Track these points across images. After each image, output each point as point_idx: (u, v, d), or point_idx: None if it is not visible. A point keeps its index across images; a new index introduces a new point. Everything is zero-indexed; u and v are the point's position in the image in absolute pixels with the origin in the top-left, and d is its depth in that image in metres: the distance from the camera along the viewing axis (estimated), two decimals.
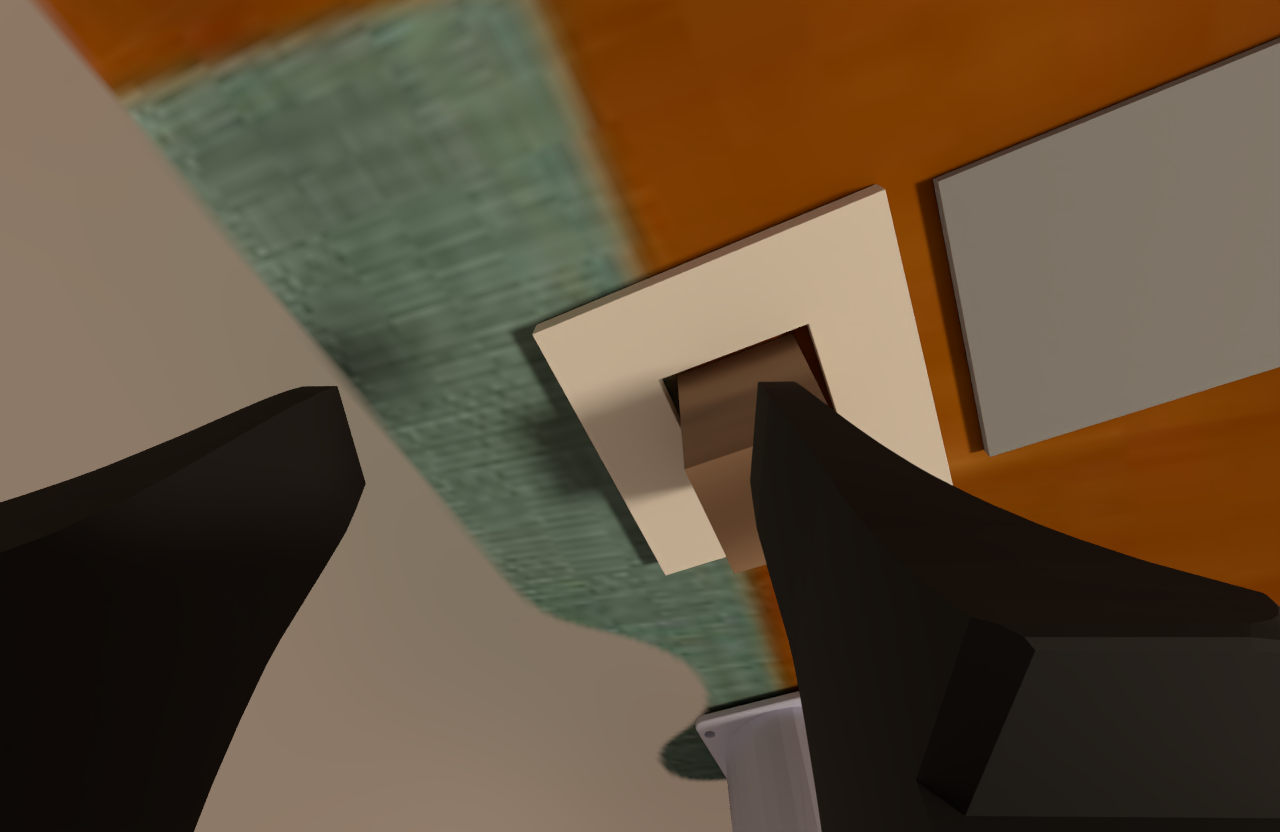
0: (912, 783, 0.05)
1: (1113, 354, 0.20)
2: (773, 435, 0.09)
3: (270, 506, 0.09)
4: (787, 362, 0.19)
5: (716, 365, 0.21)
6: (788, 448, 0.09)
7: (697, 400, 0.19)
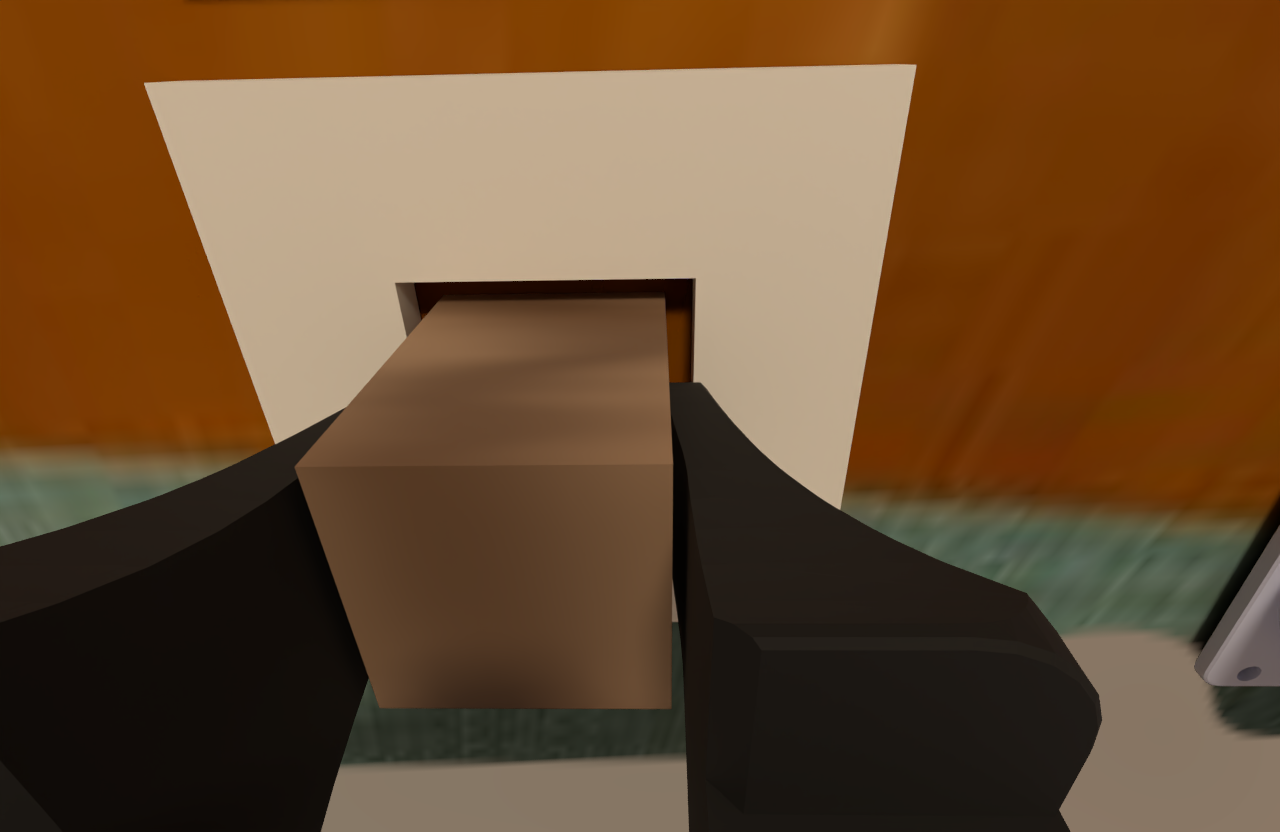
0: (705, 782, 0.05)
1: None
2: None
3: None
4: None
5: None
6: (674, 449, 0.09)
7: None
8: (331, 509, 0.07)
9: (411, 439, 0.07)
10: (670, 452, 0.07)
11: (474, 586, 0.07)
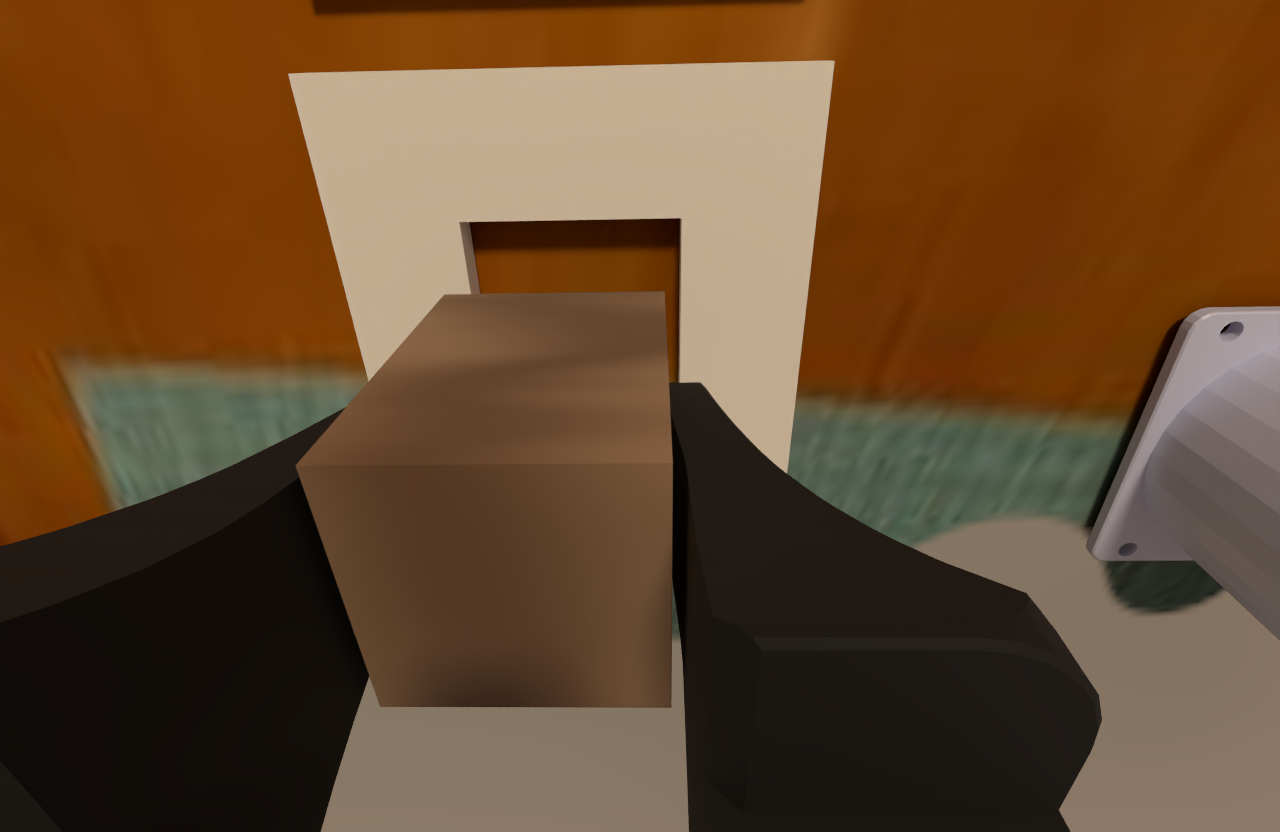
0: (705, 782, 0.05)
1: None
2: None
3: None
4: None
5: None
6: (674, 449, 0.09)
7: None
8: (332, 508, 0.07)
9: (413, 438, 0.07)
10: (670, 451, 0.07)
11: (475, 585, 0.08)
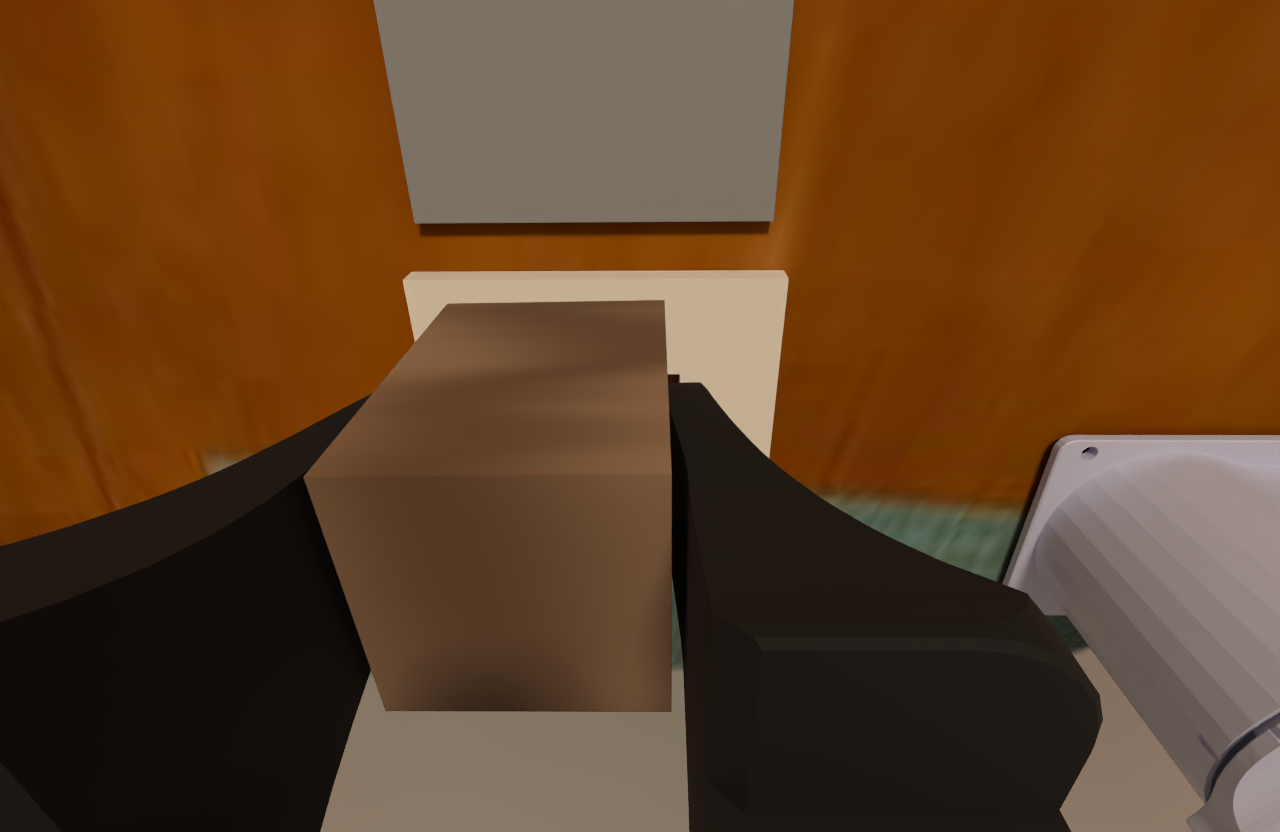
0: (706, 782, 0.05)
1: (686, 48, 0.15)
2: None
3: None
4: None
5: None
6: (674, 449, 0.09)
7: None
8: (338, 518, 0.07)
9: (416, 449, 0.07)
10: (669, 462, 0.07)
11: (477, 593, 0.08)
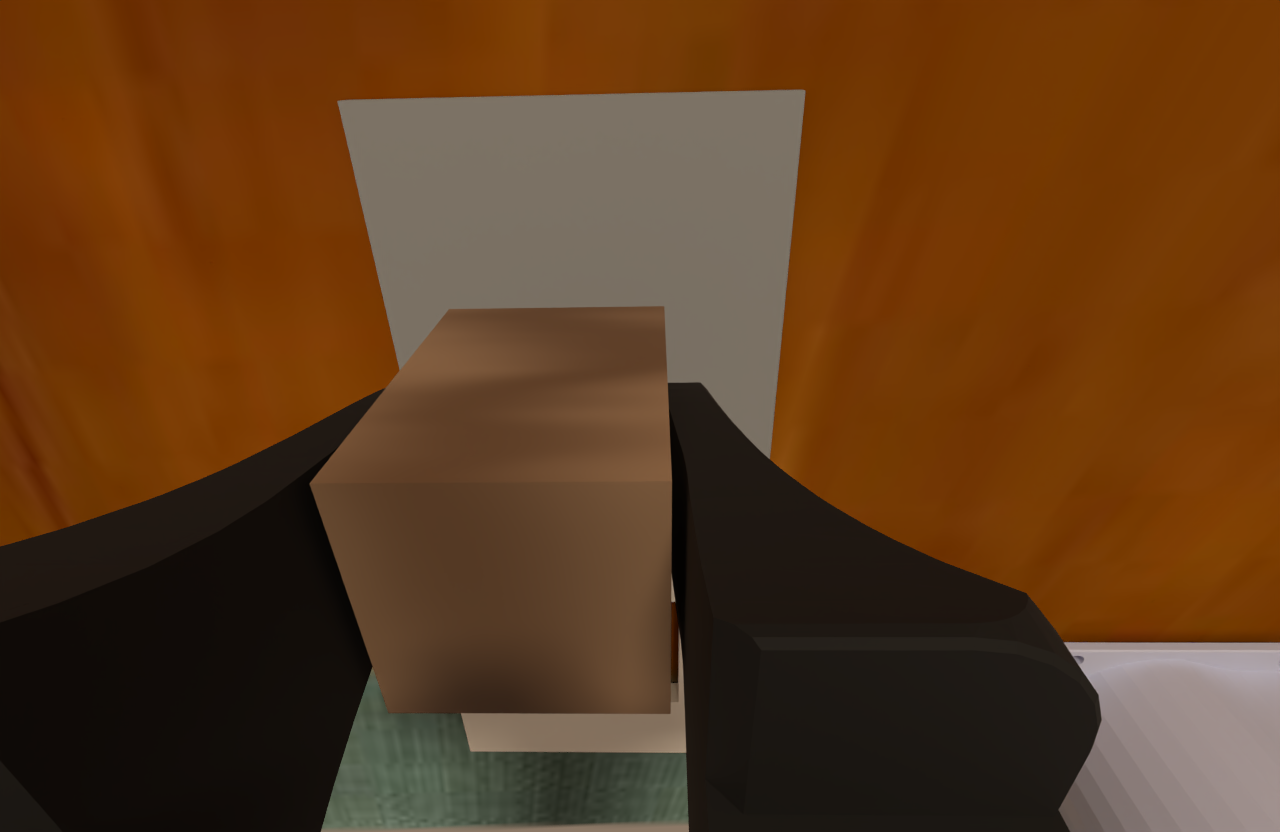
0: (705, 782, 0.05)
1: (682, 347, 0.16)
2: None
3: None
4: None
5: None
6: (674, 449, 0.09)
7: None
8: (344, 523, 0.07)
9: (421, 456, 0.07)
10: (669, 469, 0.07)
11: (481, 596, 0.08)
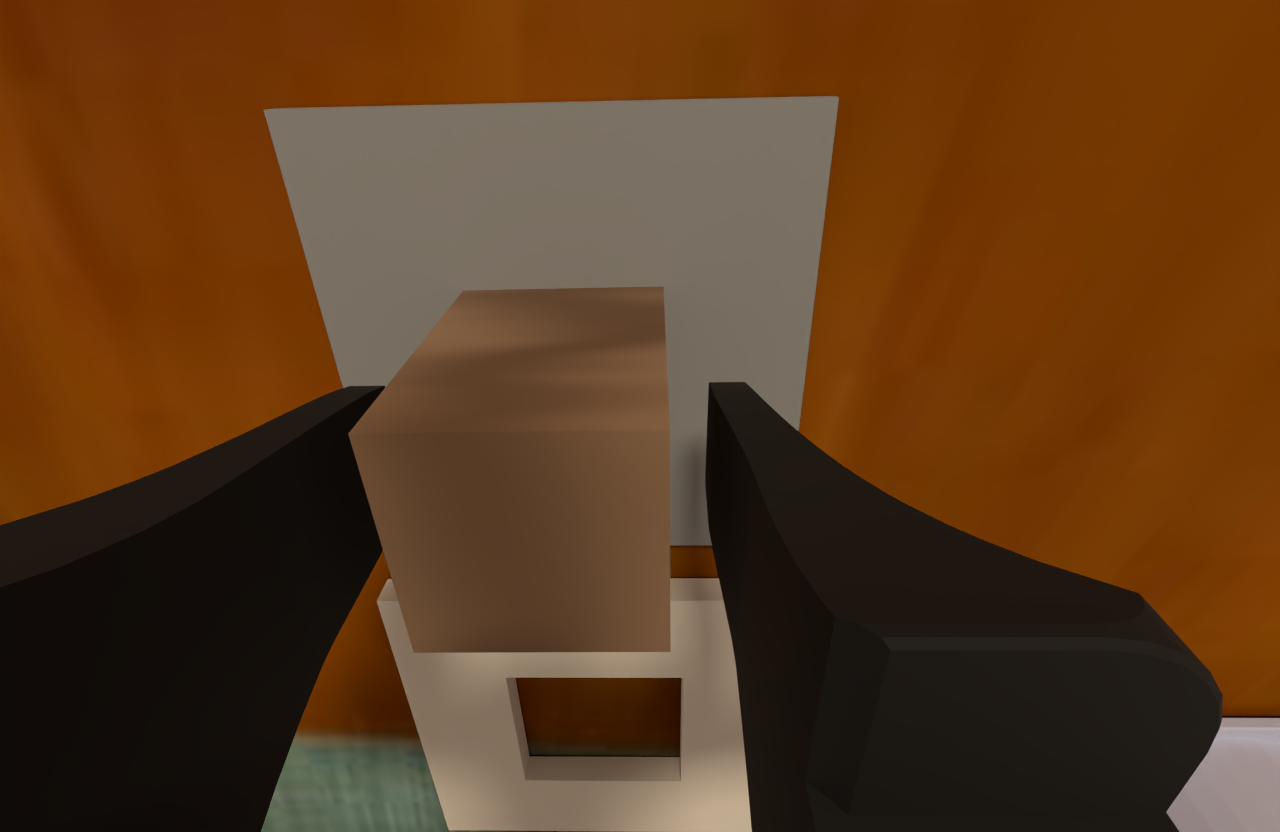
0: (803, 783, 0.05)
1: (686, 399, 0.14)
2: (718, 436, 0.09)
3: (327, 505, 0.09)
4: None
5: None
6: (728, 449, 0.09)
7: None
8: (377, 471, 0.08)
9: (446, 411, 0.08)
10: (667, 420, 0.08)
11: (499, 539, 0.09)
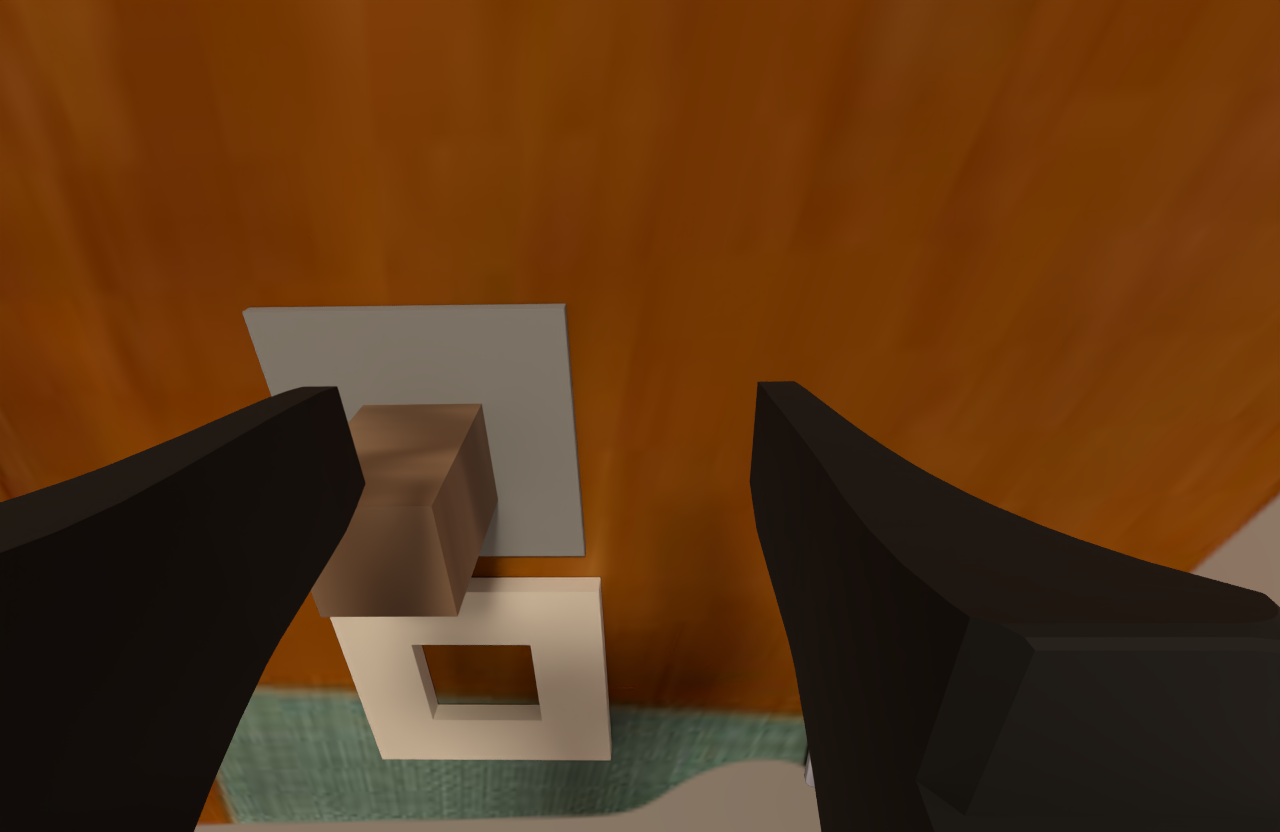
0: (912, 784, 0.05)
1: (506, 466, 0.22)
2: (773, 435, 0.09)
3: (271, 506, 0.09)
4: None
5: None
6: (788, 448, 0.09)
7: None
8: None
9: None
10: (433, 500, 0.16)
11: (357, 557, 0.17)
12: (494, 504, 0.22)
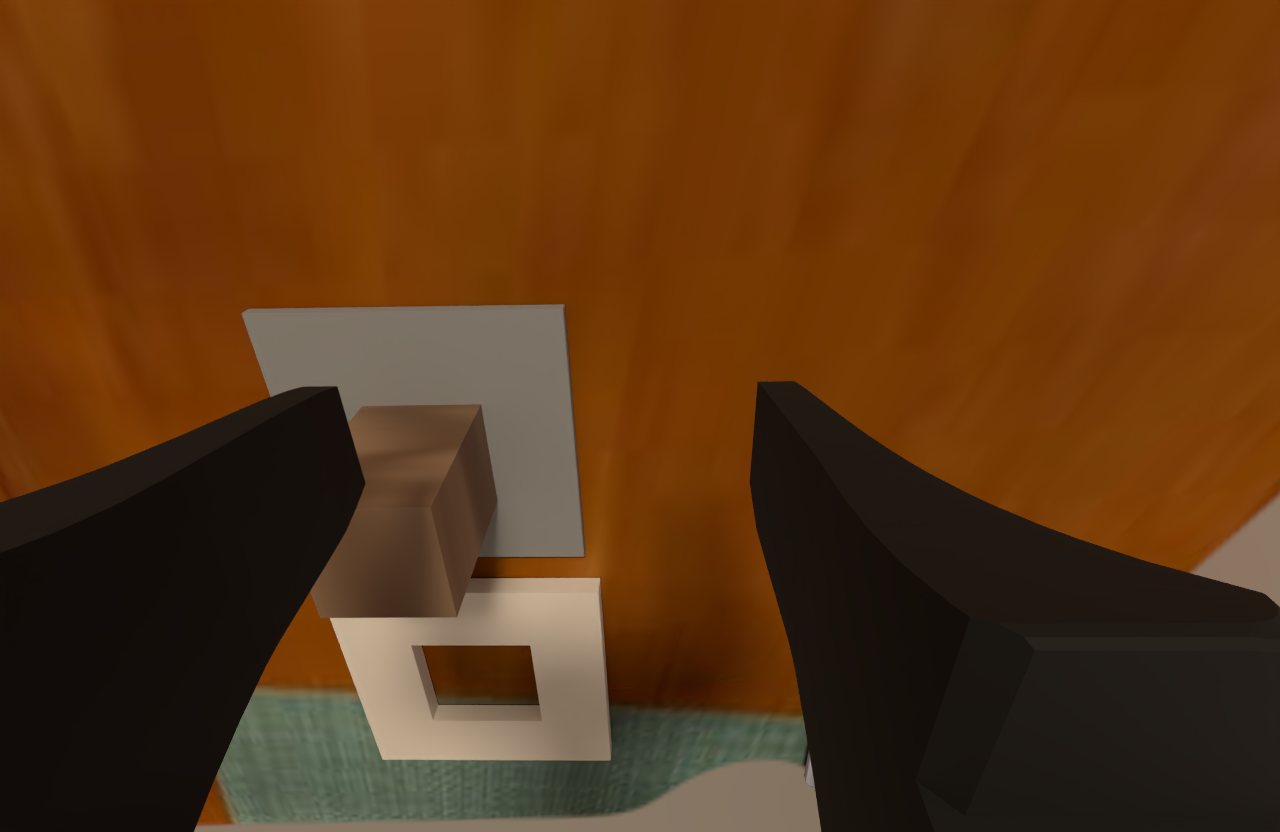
0: (912, 784, 0.05)
1: (505, 467, 0.22)
2: (773, 435, 0.09)
3: (271, 505, 0.09)
4: None
5: None
6: (788, 448, 0.09)
7: None
8: None
9: None
10: (432, 501, 0.16)
11: (357, 558, 0.17)
12: (493, 505, 0.23)
